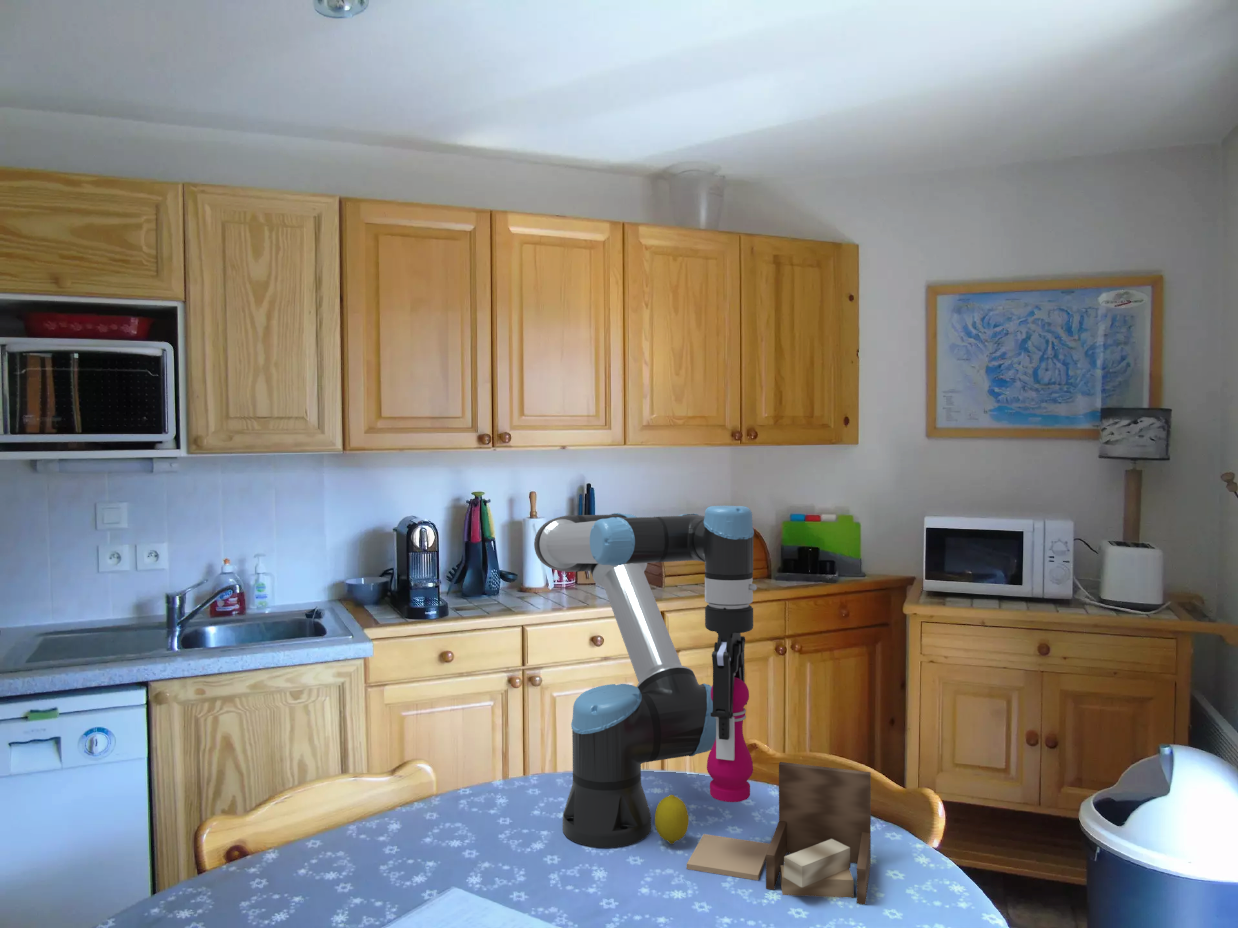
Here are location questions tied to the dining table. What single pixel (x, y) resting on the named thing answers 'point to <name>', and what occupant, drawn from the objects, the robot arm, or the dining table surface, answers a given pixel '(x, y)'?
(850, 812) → the rack
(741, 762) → the pepper mill
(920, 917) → the dining table surface
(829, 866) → the offcut top
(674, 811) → the lemon
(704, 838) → the cork mat
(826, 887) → the offcut bottom
